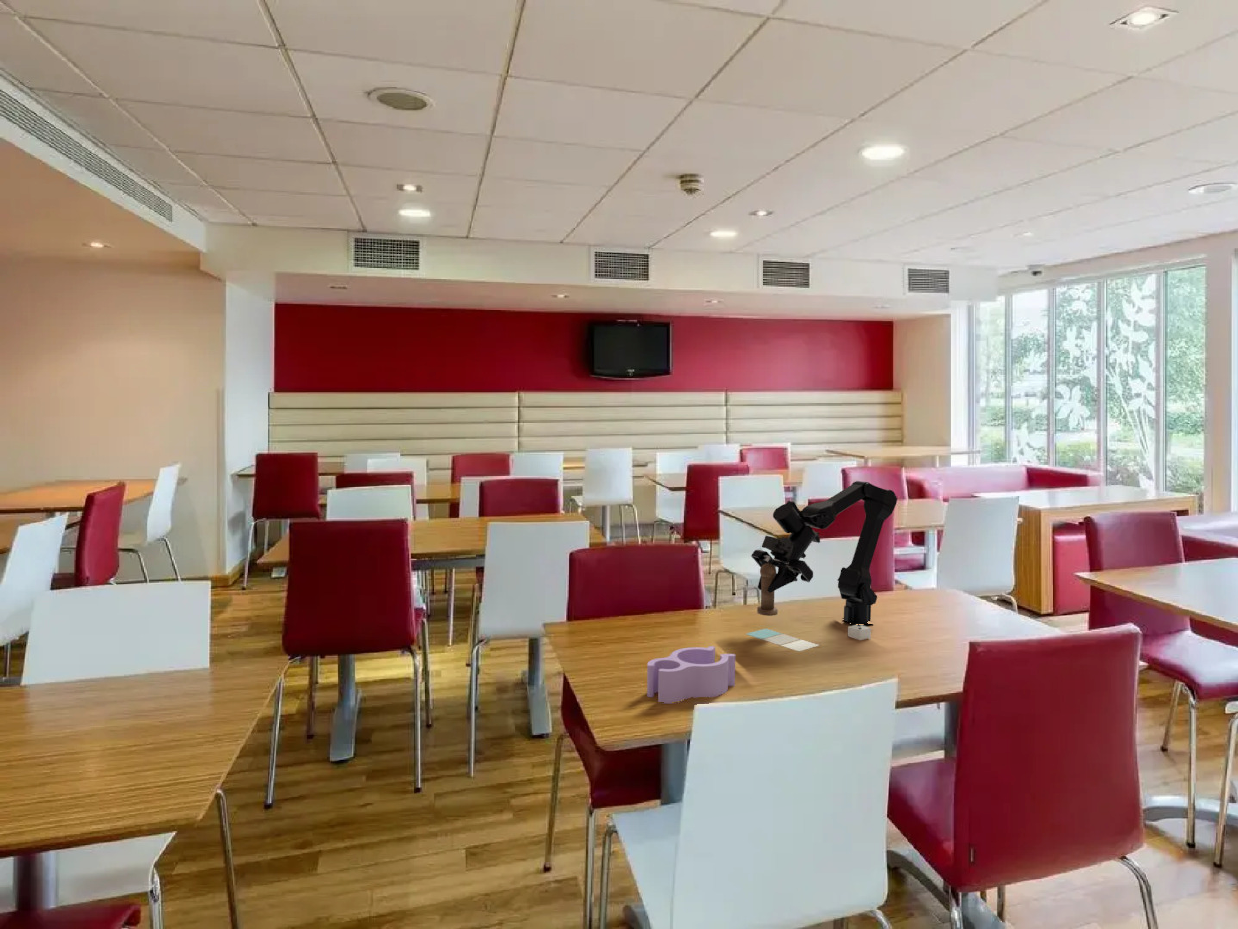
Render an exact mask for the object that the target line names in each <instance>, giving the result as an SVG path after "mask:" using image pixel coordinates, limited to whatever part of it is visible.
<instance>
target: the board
mask: <svg viewBox="0 0 1238 929" xmlns="http://www.w3.org/2000/svg"><path fill="white" fill-rule="evenodd" d="M746 635H747V636H750V637H754V638H755V639H760V640H762V641H766V642H768V643H772V644H775V645H777V646H780V647H784V648H787V649H791V650H792V651H796V652H802V651H805V650H806V651H807V650H808V649H811V648H815V647H818V646H820V645H819V644H817V643H813V642H810V641H807V640H803V639H800V638H798V637H794V636H791V635H788V634H784V633H780V632H778V631H775V630H772V629H768V628H763V629H759V630H754V631H751V632H746Z"/></svg>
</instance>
